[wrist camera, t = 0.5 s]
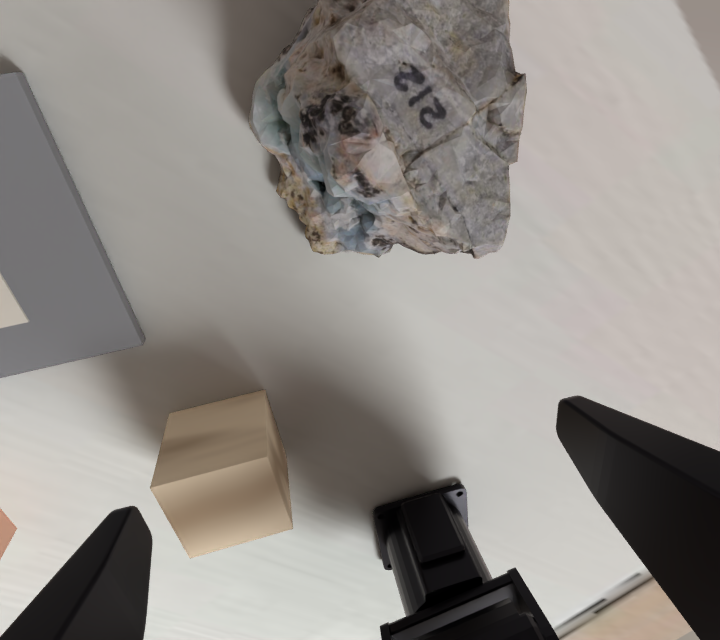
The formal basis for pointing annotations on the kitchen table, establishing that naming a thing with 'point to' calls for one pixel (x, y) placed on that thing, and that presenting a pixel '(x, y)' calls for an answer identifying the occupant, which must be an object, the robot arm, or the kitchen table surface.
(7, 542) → the terracotta cube
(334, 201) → the mineral specimen
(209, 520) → the beech cube
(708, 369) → the kitchen table surface
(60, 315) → the slate board
